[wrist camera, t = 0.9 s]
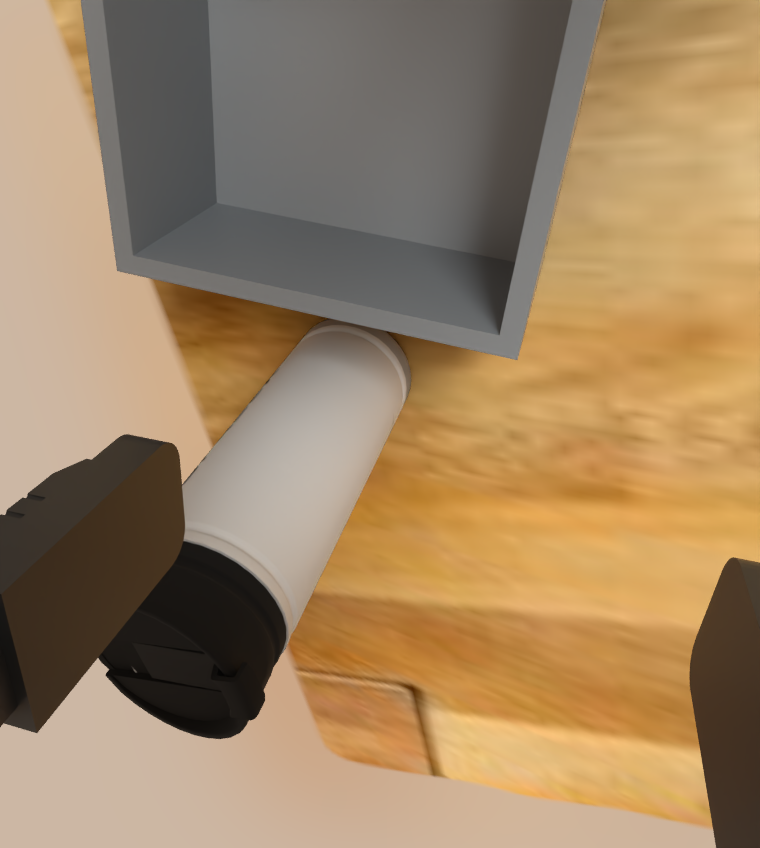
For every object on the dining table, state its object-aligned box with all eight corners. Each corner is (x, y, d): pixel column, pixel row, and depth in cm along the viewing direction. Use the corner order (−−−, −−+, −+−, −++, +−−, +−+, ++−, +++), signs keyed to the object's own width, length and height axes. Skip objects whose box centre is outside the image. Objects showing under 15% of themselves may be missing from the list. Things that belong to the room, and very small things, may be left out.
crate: (186, -317, 24) (24, -412, 17) (676, -289, 21) (697, -390, 14) (211, 210, 34) (117, 270, 28) (539, 275, 31) (517, 360, 25)
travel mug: (428, 417, 37) (281, 768, 21) (316, 421, 40) (107, 741, 24) (405, 308, 34) (213, 625, 18) (285, 320, 36) (21, 610, 21)
